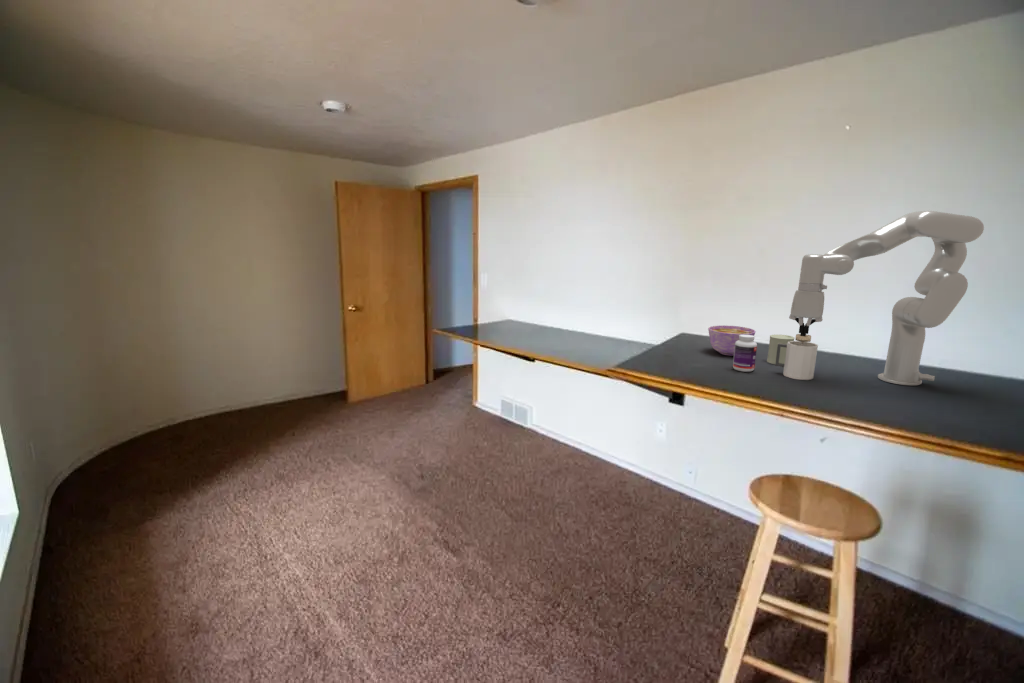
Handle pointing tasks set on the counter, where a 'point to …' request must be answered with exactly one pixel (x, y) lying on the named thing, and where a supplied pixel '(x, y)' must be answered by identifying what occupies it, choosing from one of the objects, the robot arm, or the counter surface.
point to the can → (774, 344)
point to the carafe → (798, 359)
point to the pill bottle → (745, 353)
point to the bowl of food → (727, 337)
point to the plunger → (803, 338)
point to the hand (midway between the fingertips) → (803, 335)
